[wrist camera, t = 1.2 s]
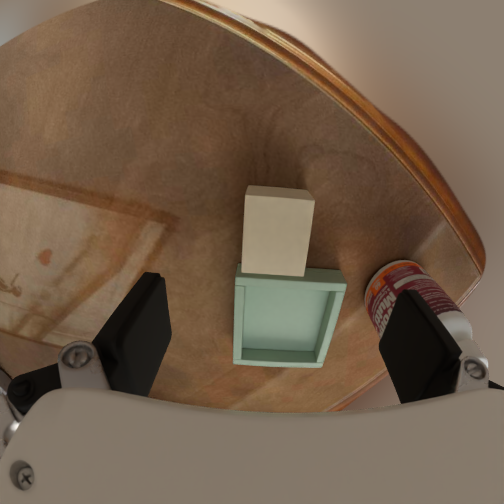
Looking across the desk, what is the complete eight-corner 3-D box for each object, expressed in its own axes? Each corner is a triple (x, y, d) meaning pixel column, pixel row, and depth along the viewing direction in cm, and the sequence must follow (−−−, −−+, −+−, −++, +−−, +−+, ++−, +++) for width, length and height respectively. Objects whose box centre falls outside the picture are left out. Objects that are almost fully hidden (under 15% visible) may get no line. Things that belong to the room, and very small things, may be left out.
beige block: (248, 185, 18) (244, 194, 15) (307, 189, 18) (315, 200, 15) (244, 252, 20) (241, 272, 17) (298, 256, 20) (303, 277, 17)
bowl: (10, 392, 40) (3, 404, 35) (-17, 356, 35) (-26, 367, 30) (35, 404, 39) (27, 418, 34) (4, 365, 33) (-6, 380, 29)
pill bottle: (361, 266, 20) (422, 377, 10) (426, 250, 19) (507, 335, 9) (363, 325, 22) (402, 430, 12) (421, 308, 22) (476, 397, 11)
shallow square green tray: (237, 262, 20) (235, 276, 18) (340, 269, 20) (347, 283, 18) (234, 347, 24) (232, 364, 22) (318, 351, 24) (321, 367, 22)
